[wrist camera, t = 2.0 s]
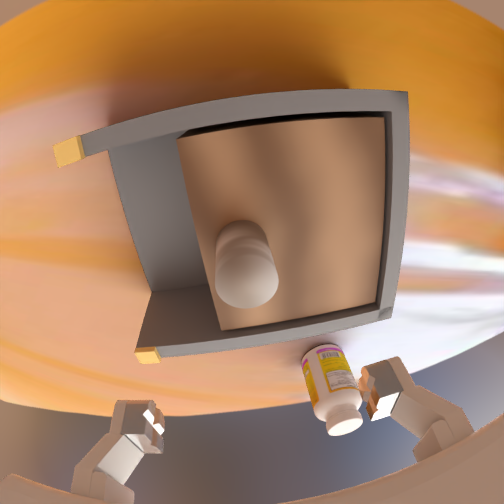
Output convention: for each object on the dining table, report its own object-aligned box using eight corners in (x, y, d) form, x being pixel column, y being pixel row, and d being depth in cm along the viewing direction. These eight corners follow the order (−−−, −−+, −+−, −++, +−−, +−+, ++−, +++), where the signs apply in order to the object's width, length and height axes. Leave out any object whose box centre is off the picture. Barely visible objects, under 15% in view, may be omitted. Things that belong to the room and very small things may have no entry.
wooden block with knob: (342, 111, 24) (426, 126, 13) (345, 258, 32) (398, 339, 21) (190, 128, 24) (159, 152, 13) (221, 279, 32) (222, 375, 21)
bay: (351, 90, 25) (412, 91, 15) (354, 264, 34) (393, 322, 25) (107, 127, 24) (52, 145, 15) (157, 296, 34) (140, 363, 25)
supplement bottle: (314, 375, 44) (334, 442, 33) (292, 359, 42) (310, 433, 30) (349, 354, 43) (376, 421, 31) (329, 335, 40) (358, 409, 29)
